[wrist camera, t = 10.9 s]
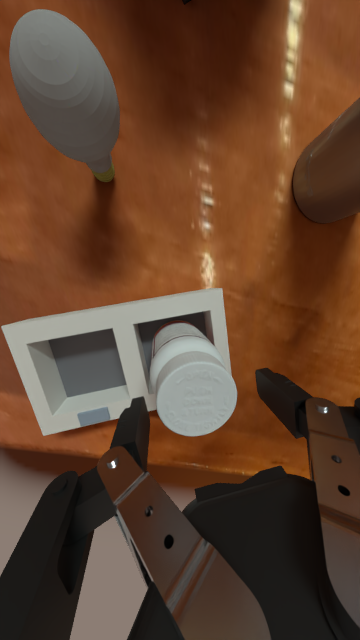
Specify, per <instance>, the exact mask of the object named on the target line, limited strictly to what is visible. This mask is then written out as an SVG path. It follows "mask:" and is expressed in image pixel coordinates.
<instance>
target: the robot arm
mask: <svg viewBox="0 0 360 640" xmlns="http://www.w3.org/2000/svg"><path fill="white" fill-rule="evenodd" d="M293 190H294V196H295V199H296V203H297V204H298V206H299V208H300V210H301V211H302V212H303V214H304V215H305V216H306V217H308V218H309V219H311V220H312V221H315V222H318V223H331V222H334V221H337V220H340V219H343V218H345V217H348V216H351V215H354V214H357V213H359V212H360V98H359V99H357V100H356V101H355V102H354V103H353V104H352V105H351V106H350V107H349V108H348V109H347V110H345V111H344V112H343V113H342V114H341V115H340V116H339V117H338V118H337V119H336V120H335V121H334V122H333V123H331V124H330V125H329V126H328V127H327V128H326V129H325V130H324V131H323V132H322V133H321V134H320V135H319V136H317V137H316V138H315V139H314V140H313V141H312V142H311V143H310V144H309V145H308V146H307V147H306V148H305V149H304V151H303V152H302V154H301V155H300V157H299V160H298V162H297V164H296V167H295V171H294V177H293ZM255 374H256V383H257V391H258V394H259V396H260V398H261V399H262V400H263V401H264V403H265V404H266V405H267V406H268V407H269V408H270V409H271V411H272V412H273V413H274V414H275V415H276V416H277V417H278V419H279V420H280V421H281V422H282V423H283V424H284V425H285V426H286V428H287V429H288V430H289V431H290V432H291V433H292V434H293V436H294V437H295V438H296V439H297V438H300V437H305V438H306V439H307V450H308V461H309V471H310V480H309V479H307V478H304V477H301V476H297V475H293V474H286V472H285V471H284V469H283V468H282V466H277V467H273V468H270V469H266V470H263V471H260V472H258V473H257V474H255V475H254V476H252V477H251V478H249V479H248V480H246V481H245V482H244V483H242V484H229V483H228V484H227V483H215V484H212V485H208V486H204V487H201V488H197V489H195V493H196V499H195V500H193V501H192V502H191V503H190V504H188V505H187V506H186V508H185V509H184V510H183V511H182V512H181V511H180V510H179V508H178V507H177V506H176V505H175V504H174V502H173V501H172V500H171V499H170V497H169V496H168V495H167V494H166V492H165V491H164V490H163V489H162V488H161V487H160V485H159V484H158V483H157V481H156V480H155V479H154V478H153V476H152V475H151V474H150V473H149V472H148V471H146V470H147V457H148V444H149V431H150V419H149V414H148V410H147V406H146V402H145V399H144V396H141V397H137V398H133V399H132V401H131V405H130V407H129V408H125V409H124V411H123V412H122V413H121V415H120V417H119V420H118V424H117V427H116V430H115V433H114V437H113V440H112V443H111V446H110V449H109V450H108V451H107V452H106V453H104V455H103V456H102V457H101V458H100V460H99V462H98V465H97V466H96V467H95V468H93V469H92V470H90V471H88V472H86V473H84V474H82V475H81V476H79V477H78V474H77V473H76V472H75V471H68V472H65V473H63V474H61V475H60V476H58V477H57V478H55V479H54V480H53V481H52V482H51V483H50V484H49V485H48V487H47V488H46V489H45V491H44V493H43V495H42V497H41V499H40V500H39V502H38V504H37V506H36V508H35V510H34V512H33V514H32V516H31V518H30V520H29V522H28V524H27V526H26V528H25V530H24V532H23V533H22V535H21V537H20V539H19V541H18V543H17V545H16V547H15V549H14V551H13V553H12V555H11V557H10V559H9V561H8V563H7V564H6V567H5V568H4V570H3V572H2V574H1V576H0V640H69V639H70V635H71V631H72V626H73V622H74V617H75V613H76V609H77V604H78V600H79V595H80V591H81V586H82V582H83V578H84V573H85V569H86V565H87V560H88V555H89V551H90V547H91V542H92V538H93V534H94V529H95V528H97V527H98V526H100V525H101V524H103V523H104V522H106V521H107V520H109V519H110V518H112V517H113V516H114V517H115V518H116V521H117V523H118V525H119V527H120V529H121V531H122V533H123V535H124V538H125V540H126V542H127V544H128V546H129V549H130V551H131V552H132V555H133V557H134V560H135V562H136V565H137V567H138V569H139V571H140V574H141V576H142V578H143V581H144V583H145V585H146V587H147V589H148V590H147V592H146V595H145V597H144V600H143V602H142V604H141V607H140V609H139V612H138V614H137V617H136V619H135V622H134V624H133V627H132V629H131V631H130V634H129V636H128V639H127V640H360V398H357V399H356V400H355V404H354V407H343V406H337V405H336V404H334V403H333V402H331V401H329V400H326V399H323V398H316V397H312V396H311V395H310V394H308V393H307V392H306V391H304V390H303V389H301V388H300V387H299V386H297V385H296V384H295V383H293V382H292V381H291V380H289V379H288V378H287V377H285V376H283V375H281V374H278V373H273V372H272V371H271V370H270V369H268V368H263V369H258V370H256V372H255Z"/></svg>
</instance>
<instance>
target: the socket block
mask: <svg viewBox="0 0 360 640" xmlns="http://www.w3.org/2000/svg"><path fill="white" fill-rule="evenodd" d="M175 320H182V321H186V322H189V323H191V324H192V325H194V326H195V327H196V328H197V329H198V330H199V331H200V332H201V333H202V334H203V335H204V336H205V337H206V338H207V339H208V340H209V341H210V342H211V343H212V344H213V345H214V346H215V347H216V348H217V350H218V351H219V353H220V354H221V356H222V358H223V360H224V363H225V368H226V370H227V371H228V372H229V374H230V375H231V366H230V357H229V348H228V338H227V329H226V320H225V311H224V301H223V292H222V288H209V289H203V290H197V291H191V292H185V293H179V294H174V295H168V296H162V297H156V298H150V299H144V300H138V301H132V302H127V303H121V304H115V305H109V306H103V307H97V308H91V309H86V310H80V311H74V312H68V313H62V314H56V315H50V316H45V317H39V318H33V319H28V320H24V321H20V322H16V323H12V324H8V325H4V326H1V327H2V330H3V333H4V335H5V338H6V340H7V343H8V345H9V348H10V351H11V353H12V356H13V358H14V361H15V364H16V366H17V369H18V371H19V374H20V376H21V379H22V382H23V384H24V387H25V389H26V392H27V395H28V397H29V400H30V402H31V405H32V407H33V410H34V413H35V415H36V418H37V420H38V423H39V426H40V428H41V431H42V433H43V436H45V435H49V434H53V433H57V432H62V431H66V430H70V429H75V428H79V427H83V426H88V425H92V424H96V423H100V422H105V421H109V420H113V419H118V418H119V417H120V415H121V413H122V412H123V411H124V409H125V408H129V407H130V405H131V401H132V399H133V398H137V397H141V396H144V399H145V402H146V406H147V410H148V411H152V410H156V409H157V408H156V395H155V393H154V391H153V389H152V387H151V383H150V365H151V354H152V342H153V338H154V335H155V333H156V332H157V330H158V329H159V328H160V327H161V326H162V325H164V324H166V323H168V322H170V321H175ZM231 376H232V375H231Z"/></svg>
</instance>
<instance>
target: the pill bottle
mask: <svg viewBox="0 0 360 640" xmlns="http://www.w3.org/2000/svg"><path fill="white" fill-rule="evenodd" d="M150 383H151V387H152V389H153V391H154V393H155V395H156V408H157V412H158V415H159V417H160V419H161V420H162V422H163V423H164V425H166V426H167V427H168V428H169V429H170V430H172V431H173V432H175V433H178V434H180V435H185V436H201V435H205V434H208V433H211V432H213V431H215V430H217V429H218V428H220V427H221V426H222V425H223V424H224V423H225V422H226V421H227V420H228V419H229V418H230V416H231V415H232V413H233V411H234V408H235V406H236V402H237V389H236V385H235V382H234V380H233V378H232V376H231V375H230V374H229V372H228V371H227V370H226V368H225V363H224V360H223V358H222V356H221V354H220V353H219V351H218V350H217V348H216V347H215V346H214V345H213V344H212V343H211V342H210V341H209V340H208V339H207V338H206V337H205V336H204V335H203V334H202V333H201V332H200V331H199V330H198V329H197V328H196V327H195V326H194V325H192V324H191V323H189V322H186V321H182V320H175V321H170V322H168V323H166V324H164V325H162V326H161V327H160V328H159V329H158V330H157V332H156V333H155V335H154V338H153V342H152V354H151V365H150Z"/></svg>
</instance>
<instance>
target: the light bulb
mask: <svg viewBox="0 0 360 640" xmlns="http://www.w3.org/2000/svg"><path fill="white" fill-rule="evenodd" d="M10 66H11V71H12V76H13V80H14V84H15V87H16V90H17V92H18V95H19V98H20V100H21V103H22V105H23V107H24V109H25V111H26V113H27V115H28V116H29V118H30V119H31V121H32V122H33V123H34V125H35V126H36V128H37V129H38V130H39V132H40V133H41V134H42V136H43V137H44V138H45V139H46V140H47V141H48V142H49V143H50V144H51V145H53V146H54V147H55V148H56V149H57V150H59V151H60V152H61V153H63V154H64V155H66V156H67V157H69V158H72V159H75V160H78V161H81V162H86V164H87V165H88V167H89V168H90V169H91V170H92V172H93V174H94V176H95V177H96V178H97V179H98V180H100V181H103V182H109V181H111V180H112V179H113V177H114V174H115V170H114V166H113V164H112V157H111V154H110V152H111V151H112V149H113V147H114V145H115V143H116V141H117V138H118V134H119V125H120V110H119V103H118V98H117V94H116V90H115V86H114V82H113V79H112V77H111V74H110V72H109V70H108V68H107V66H106V64H105V62H104V60H103V58H102V57H101V55H100V53H99V51H98V50H97V48H96V47H95V46H94V44H93V43H92V42H91V40H90V39H89V38H88V36H87V35H86V34H85V33H84V32H83V31H82V30H81V29H80V28H79V27H78V26H77V25H75V24H74V23H73V22H71V21H70V20H69V19H67V18H66V17H64V16H63V15H61V14H59V13H57V12H54V11H50V10H43V9H39V10H33V11H30V12H28V13H26V14H25V15H24V16H22V17H21V18H20V19H19V21H18V22H17V24H16V25H15V27H14V30H13V32H12V36H11V43H10Z"/></svg>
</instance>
